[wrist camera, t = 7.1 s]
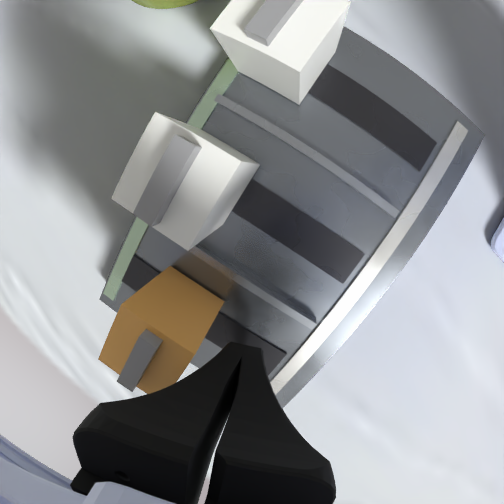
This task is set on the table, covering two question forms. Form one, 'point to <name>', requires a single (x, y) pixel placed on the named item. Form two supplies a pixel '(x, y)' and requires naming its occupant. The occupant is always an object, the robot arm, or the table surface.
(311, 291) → the panel
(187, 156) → the white breaker
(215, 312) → the breaker orange
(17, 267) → the table surface
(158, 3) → the plant pot
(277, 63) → the white breaker
